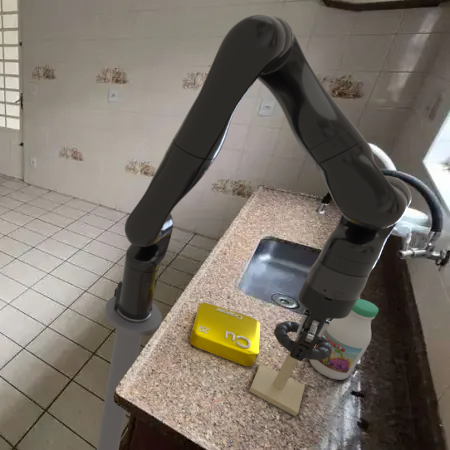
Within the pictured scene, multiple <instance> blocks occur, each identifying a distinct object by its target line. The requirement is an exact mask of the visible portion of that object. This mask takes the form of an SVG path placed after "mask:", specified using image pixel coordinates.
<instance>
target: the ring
mask: <svg viewBox="0 0 450 450" xmlns="http://www.w3.org/2000/svg"><path fill="white" fill-rule="evenodd" d="M299 325H300V321H299V322H297V321H291V320H286V321H282V322H279V323H276V325H275V327H274V330H273V335H274V337H275V338H276V341H277V342H278V344H280V345H281V347H283V348H284V349H286V351H288V353H289V352H291V350H292V348H293V346H294V343H295V340H293V338H291V337H290V336H289V334H288V333H296V334H298V333H297V330H298V327H299ZM316 345H317V348H315V347H314V348H313V350H312V352H310V353H309V352H307V354H306V356H305V358H304V360H305V359H306V360H310V359H312V360H322V359H325V358H328V357H330V355H331V351H332V345H331V344H330V342H329V341H328V340H327V338H326V337H325V336H324V335H323V334H322V336H321V338H320V341H318V343H317V344H316ZM316 345H315V346H316Z"/></svg>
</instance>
